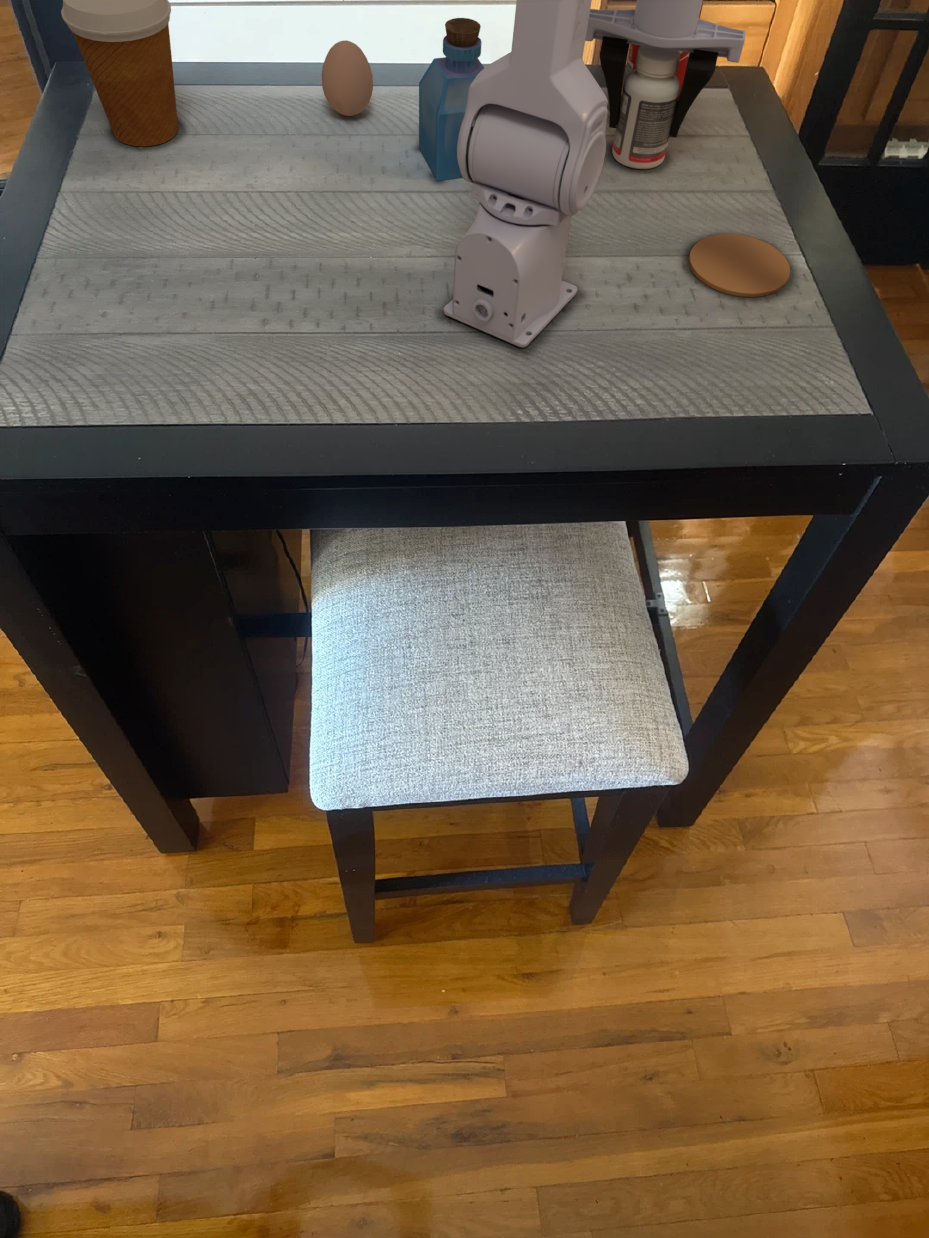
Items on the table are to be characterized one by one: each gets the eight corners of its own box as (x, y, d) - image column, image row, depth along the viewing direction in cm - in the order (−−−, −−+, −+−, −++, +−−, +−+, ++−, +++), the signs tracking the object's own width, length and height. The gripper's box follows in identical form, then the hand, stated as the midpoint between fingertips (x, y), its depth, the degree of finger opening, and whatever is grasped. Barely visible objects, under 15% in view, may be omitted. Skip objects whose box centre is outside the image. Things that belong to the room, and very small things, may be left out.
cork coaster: (767, 310, 77) (768, 306, 76) (672, 273, 79) (673, 269, 79) (802, 260, 81) (804, 256, 81) (712, 226, 84) (713, 222, 83)
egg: (380, 107, 94) (378, 35, 88) (364, 130, 91) (361, 58, 85) (334, 98, 94) (329, 26, 89) (316, 121, 92) (310, 48, 86)
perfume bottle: (418, 148, 89) (419, 13, 80) (477, 141, 91) (484, 8, 81) (437, 181, 86) (439, 44, 76) (497, 173, 87) (507, 38, 78)
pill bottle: (673, 155, 91) (698, 51, 83) (648, 177, 88) (671, 71, 80) (627, 137, 92) (647, 33, 84) (601, 158, 90) (619, 53, 82)
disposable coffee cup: (82, 150, 86) (39, 10, 77) (115, 103, 92) (79, -33, 82) (178, 160, 86) (148, 22, 76) (206, 112, 92) (181, -23, 82)
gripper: (761, -40, 78) (718, 119, 90) (599, -62, 80) (576, 98, 91) (760, -8, 74) (715, 154, 86) (588, -31, 76) (566, 131, 87)
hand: (643, 128), depth 88 cm, fingers closed on pill bottle, 5 cm apart
